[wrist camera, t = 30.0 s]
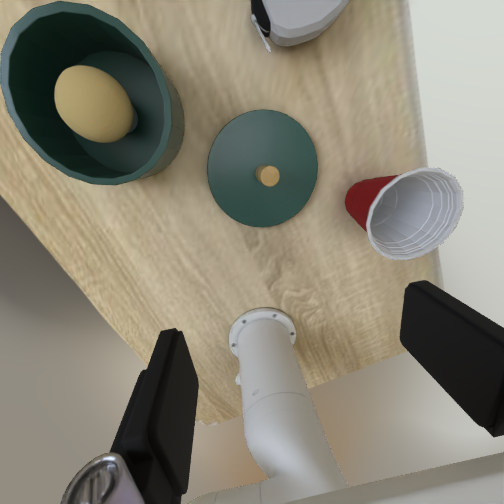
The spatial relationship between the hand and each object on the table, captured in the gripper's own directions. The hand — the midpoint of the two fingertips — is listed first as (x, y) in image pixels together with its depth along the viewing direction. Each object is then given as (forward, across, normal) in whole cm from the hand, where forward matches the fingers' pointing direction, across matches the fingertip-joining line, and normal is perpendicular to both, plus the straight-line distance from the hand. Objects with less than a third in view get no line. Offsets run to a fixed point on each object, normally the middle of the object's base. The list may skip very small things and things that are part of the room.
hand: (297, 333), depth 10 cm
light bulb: (+28, +13, -13) cm, 34 cm away
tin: (+28, +13, -13) cm, 34 cm away
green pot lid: (+28, -3, -4) cm, 28 cm away
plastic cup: (+28, -18, +2) cm, 34 cm away
